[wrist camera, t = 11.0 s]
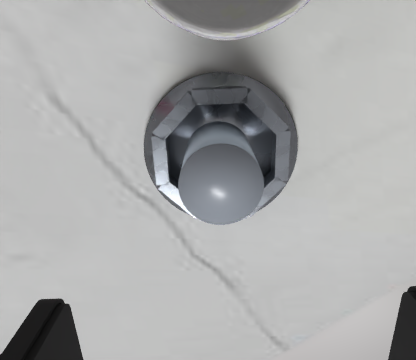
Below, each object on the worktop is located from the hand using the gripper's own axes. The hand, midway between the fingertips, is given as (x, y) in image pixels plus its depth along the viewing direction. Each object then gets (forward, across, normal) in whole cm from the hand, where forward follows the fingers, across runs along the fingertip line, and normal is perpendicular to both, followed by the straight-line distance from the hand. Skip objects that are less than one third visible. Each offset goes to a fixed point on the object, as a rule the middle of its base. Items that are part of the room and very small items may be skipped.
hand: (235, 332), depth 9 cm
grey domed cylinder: (+18, 0, 0) cm, 18 cm away
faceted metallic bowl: (+18, 0, 0) cm, 18 cm away
